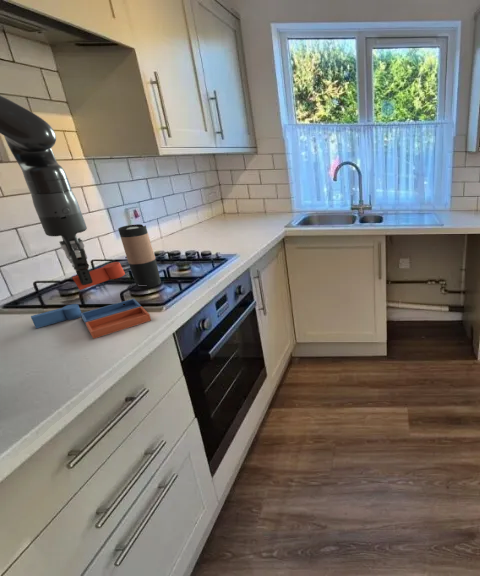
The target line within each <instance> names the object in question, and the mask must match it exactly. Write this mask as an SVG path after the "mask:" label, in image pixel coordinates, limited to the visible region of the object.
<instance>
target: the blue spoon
mask: <svg viewBox="0 0 480 576" xmlns="http://www.w3.org/2000/svg"><path fill="white" fill-rule="evenodd" d="M80 313H82V310H81V308H80V306H79V304H78V303H72V304H67V305H65V306H63V307H60V308H56V309H52V310H49V311H45V312H41V313H36V314H33V315H31V316H30V318H31V321H32V323H33V325H34V327H35V329H39V328H43V327H46V326H50V325H54V324H57V323H60V322H61V323H62V322H64V321H67V320H68V321H71V320H76V319H79V318H82V317H81V315H80Z"/></svg>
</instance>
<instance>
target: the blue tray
mask: <svg viewBox="0 0 480 576" xmlns="http://www.w3.org/2000/svg"><path fill="white" fill-rule="evenodd" d="M123 304H125V305H123ZM141 306H142V305H141V304H140V302H138V301H137V300H136V299H135V298H131V299H127V300H124V301H120V302H115V303H112V304H108V305H105V306H101V307H98V308H94V309H91V310H87V311H83V312H81V313H80V315H81V317H80V318H81V319H82V321H83V323H84V325H85V327H86V328H87V326H86V322H89V321H93V320H96V319H100V318H103V317H106V316H110V315H113V314H117V313H120V312H124V311H127V310H130V309H134V308H137V307H141Z"/></svg>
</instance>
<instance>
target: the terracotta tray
mask: <svg viewBox="0 0 480 576" xmlns="http://www.w3.org/2000/svg"><path fill="white" fill-rule="evenodd" d="M150 321H152V318H151V315H150V313H149V312H148V311H147V310H146V309H145V308H144V307H143V306H142V305H141V307H137V308H134V309H130V310H127V311H124V312H120V313H117V314H113V315H110V316H106V317H103V318H100V319H96V320H93V321H89V322H86V325H85V327H86V326H87V327H86V328H87V330H88V332H89V333H90V335H91V337H92V339H97V338H100V337H103V336H106V335H110V334H113V333H116V332H120V331H123V330H126V329H128V328H132V327H135V326H137V325H141V324H143V323H148V322H150Z"/></svg>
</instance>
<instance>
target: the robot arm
mask: <svg viewBox="0 0 480 576" xmlns="http://www.w3.org/2000/svg"><path fill="white" fill-rule="evenodd" d="M0 134H1V135H2V136H3V137H4V140H5V142H6V144H7V146H8V148H9V150H10V152H11V154H12V155H13V157H14V159H15V161H16V163H17V164H18V166H19V168H20V169H21V172H22V174H23V179H24V180H25V184H26V186H27V188H28V191H29V193H30V195H31V199H32V204H33V207H34V209H35V212H36V214H37V217H38V219H39V221H40V224H41V226H42V227H41V228H42V229H43V232H44V234H45V235H46V236H48V237H61V239H62V240H59V241H58V242H59V246H60V247H61V249H62V250H63V251H64V254H65V257H66V259H67V260H68V261H69V263H70V264H71V267H72V268H73V270H74V271H75V273H76V276H77V275H78V277H79V279H80V282H81V284H82V285H86V284H91V283H92V282H93V281H92V278H91V276H90V273H89V271H90V270H89V268H90V265H89V262H88V260H87V259H88V256H87V255H88V254H87V253H86V250H85V244H84V241H83V239H81V238H80V237H77V234H79V233H80V234H81V233H84V232H85V231H87V230H88V226H87V224H86V221H85V219H84V216H83V213H82V210H81V207H80V205H79V201H78V200H77V198H76V196H75V193H74V192H73V189H72V187H71V184H70V181H69V178H68V176H67V174H66V171H65V169H64V168H63V167H62V166H61V165H60V164H59V163H58V161H57V158H56V157H55V154H54V152H53V149H52V148H53V147H54V146H55V144H56V142H57V135H56V131H55V130H54V128H53V127H52V126H51V125H50V124H49V123H48V122H47V121H46V120H44V119H43V118H42V117H40V116H39V115H37V114H36V113H34V112H33V111H30V110H29V109H27V108H25V107H24V106H21V105H20V104H18V103H16V102H14V101H13V100H10V99H8V98H7V97H5V96H3V95H0Z"/></svg>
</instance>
